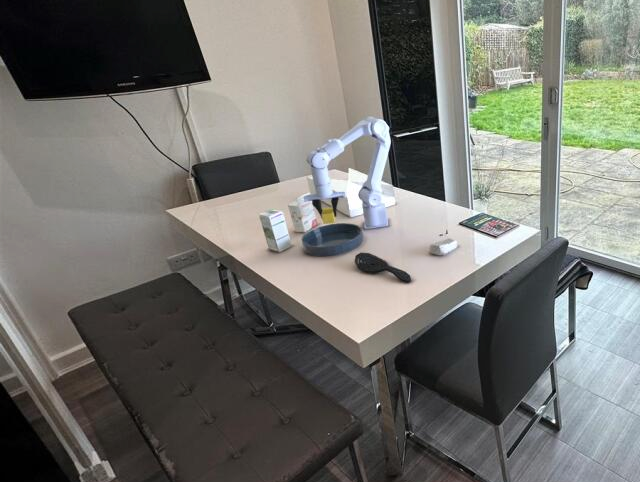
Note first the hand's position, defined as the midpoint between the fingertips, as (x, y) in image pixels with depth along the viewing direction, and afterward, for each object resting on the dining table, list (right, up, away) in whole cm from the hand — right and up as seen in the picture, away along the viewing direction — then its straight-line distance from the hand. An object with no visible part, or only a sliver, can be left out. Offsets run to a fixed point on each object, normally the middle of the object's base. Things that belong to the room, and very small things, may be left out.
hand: (329, 216), depth 158 cm
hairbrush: (+28, -19, -22) cm, 41 cm away
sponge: (0, -1, +1) cm, 1 cm away
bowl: (+3, -10, -3) cm, 11 cm away
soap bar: (+47, -13, -9) cm, 49 cm away
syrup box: (-16, -12, -6) cm, 21 cm away
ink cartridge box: (-15, -5, +11) cm, 19 cm away
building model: (-8, +9, +43) cm, 45 cm away
